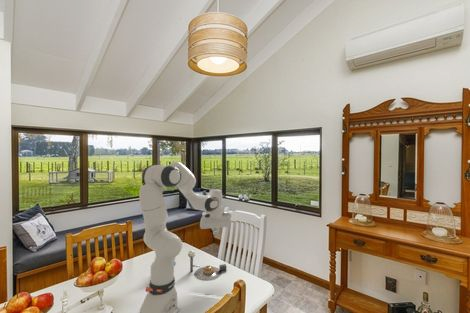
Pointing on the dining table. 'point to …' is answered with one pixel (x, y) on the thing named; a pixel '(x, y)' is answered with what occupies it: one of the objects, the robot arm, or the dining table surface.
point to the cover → (208, 270)
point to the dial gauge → (191, 260)
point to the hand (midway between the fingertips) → (215, 234)
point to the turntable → (217, 273)
